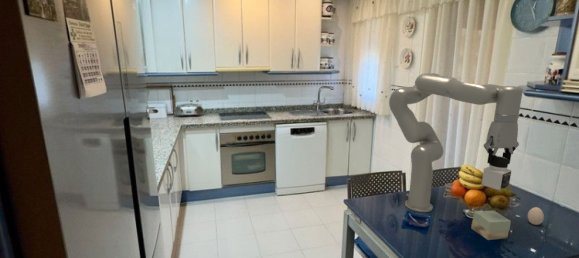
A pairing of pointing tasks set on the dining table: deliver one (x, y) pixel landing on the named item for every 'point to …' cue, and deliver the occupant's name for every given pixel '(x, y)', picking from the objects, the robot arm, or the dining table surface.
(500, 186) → the medicine bottle
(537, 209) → the egg
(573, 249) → the dining table surface
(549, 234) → the dining table surface
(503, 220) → the block top
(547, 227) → the dining table surface
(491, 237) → the block bottom
